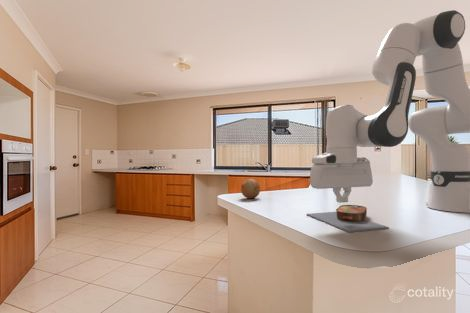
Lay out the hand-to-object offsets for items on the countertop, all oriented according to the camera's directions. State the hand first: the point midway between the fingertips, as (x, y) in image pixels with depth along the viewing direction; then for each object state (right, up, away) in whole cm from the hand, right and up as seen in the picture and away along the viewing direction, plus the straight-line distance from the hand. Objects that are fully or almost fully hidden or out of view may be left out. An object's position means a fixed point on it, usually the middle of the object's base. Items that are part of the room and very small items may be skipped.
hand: (342, 202), depth 78 cm
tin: (+9, -5, +3) cm, 10 cm away
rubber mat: (+1, -6, +1) cm, 6 cm away
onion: (-25, -7, +49) cm, 56 cm away
